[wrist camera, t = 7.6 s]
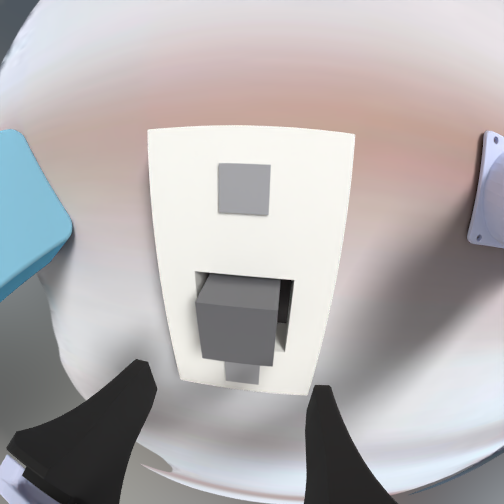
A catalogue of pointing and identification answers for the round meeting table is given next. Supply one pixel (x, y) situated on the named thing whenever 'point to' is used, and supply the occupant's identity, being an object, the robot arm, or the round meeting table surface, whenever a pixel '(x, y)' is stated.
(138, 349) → the round meeting table surface
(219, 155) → the white socket board
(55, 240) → the data package
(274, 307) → the plug
